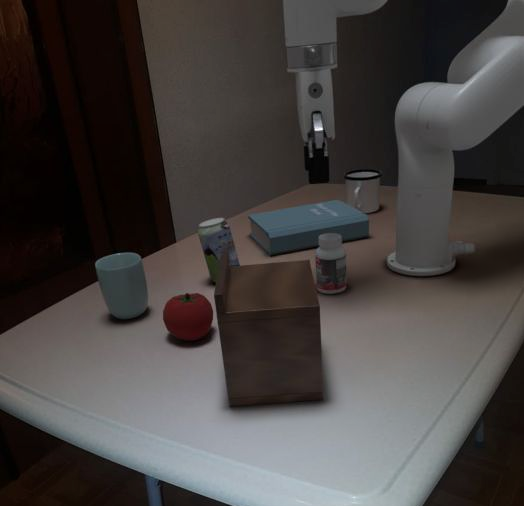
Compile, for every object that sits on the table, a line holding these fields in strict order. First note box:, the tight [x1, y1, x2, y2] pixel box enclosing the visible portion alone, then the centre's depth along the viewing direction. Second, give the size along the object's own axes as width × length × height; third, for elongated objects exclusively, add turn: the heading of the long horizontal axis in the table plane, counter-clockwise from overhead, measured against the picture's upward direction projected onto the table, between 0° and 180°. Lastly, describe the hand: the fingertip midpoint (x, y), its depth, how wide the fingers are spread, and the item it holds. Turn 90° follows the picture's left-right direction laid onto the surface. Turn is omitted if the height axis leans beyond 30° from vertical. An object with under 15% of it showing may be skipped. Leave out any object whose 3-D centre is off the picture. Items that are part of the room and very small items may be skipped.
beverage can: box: [197, 217, 241, 283], centre depth 105 cm, size 6×7×12 cm
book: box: [247, 199, 370, 256], centre depth 125 cm, size 23×16×5 cm
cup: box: [94, 252, 149, 320], centre depth 96 cm, size 8×8×10 cm
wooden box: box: [213, 250, 324, 407], centre depth 73 cm, size 12×15×16 cm
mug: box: [342, 168, 383, 215], centre depth 139 cm, size 12×10×9 cm
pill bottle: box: [314, 233, 347, 295], centre depth 98 cm, size 5×5×10 cm
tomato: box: [162, 292, 214, 341], centre depth 87 cm, size 8×8×7 cm
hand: (316, 176), depth 91 cm, fingers open, 9 cm apart
